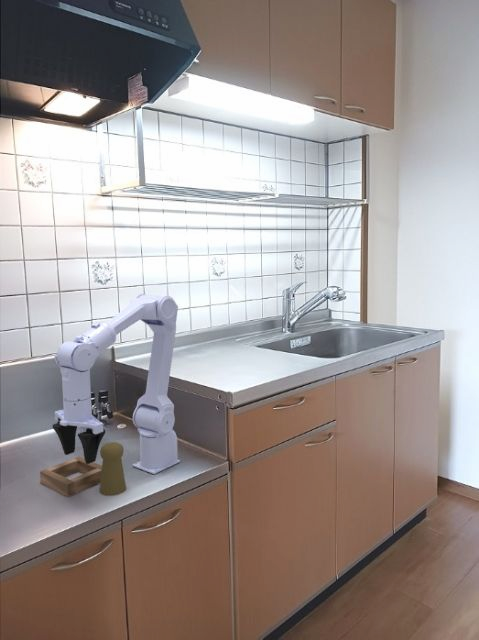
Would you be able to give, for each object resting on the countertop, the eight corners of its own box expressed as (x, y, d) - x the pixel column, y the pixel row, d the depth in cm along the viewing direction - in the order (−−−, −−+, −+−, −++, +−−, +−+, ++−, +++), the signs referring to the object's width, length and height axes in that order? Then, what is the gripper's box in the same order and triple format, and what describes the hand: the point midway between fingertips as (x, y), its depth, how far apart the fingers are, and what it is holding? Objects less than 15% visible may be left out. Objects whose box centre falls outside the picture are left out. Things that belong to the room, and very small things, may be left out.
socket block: (80, 467, 127) (79, 456, 127) (107, 479, 120) (107, 467, 120) (40, 483, 118) (40, 471, 118) (68, 497, 112) (67, 484, 111)
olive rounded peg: (105, 498, 111) (103, 451, 110) (95, 488, 116) (94, 442, 115) (130, 491, 115) (129, 445, 113) (120, 481, 120) (119, 437, 118)
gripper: (41, 395, 108) (44, 455, 110) (81, 408, 99) (84, 473, 101) (69, 388, 114) (72, 445, 115) (110, 400, 105) (112, 461, 107)
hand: (79, 457), depth 109 cm, fingers open, 7 cm apart
